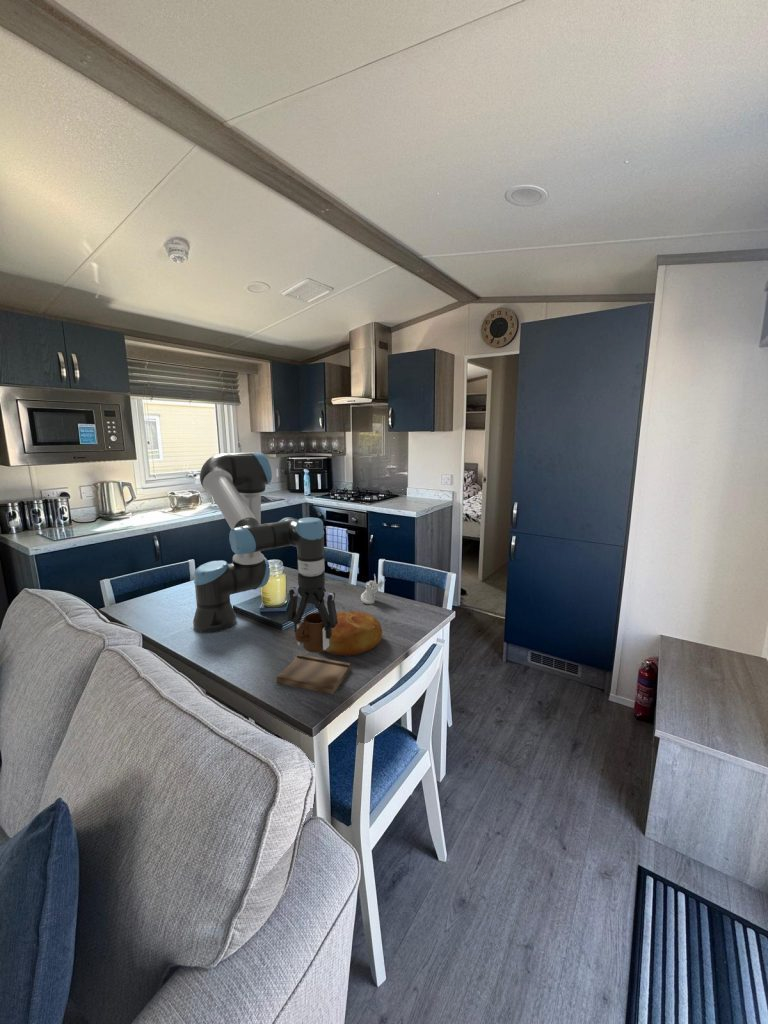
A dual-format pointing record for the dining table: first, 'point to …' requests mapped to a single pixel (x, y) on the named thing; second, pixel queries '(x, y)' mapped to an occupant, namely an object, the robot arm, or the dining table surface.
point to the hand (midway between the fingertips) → (313, 645)
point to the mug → (311, 633)
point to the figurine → (371, 591)
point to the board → (314, 673)
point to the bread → (354, 633)
